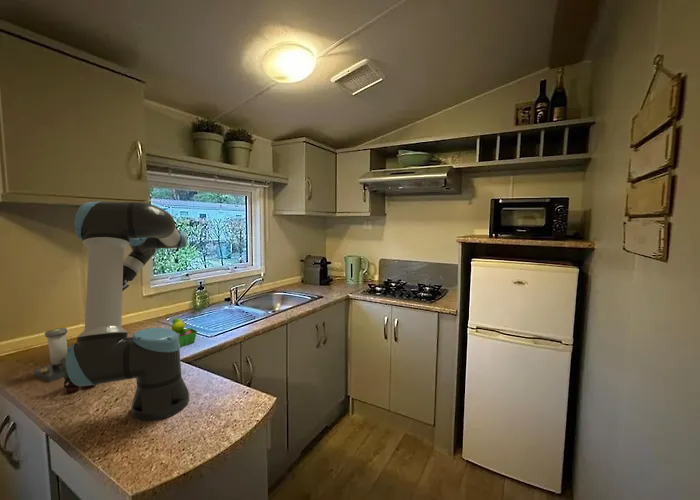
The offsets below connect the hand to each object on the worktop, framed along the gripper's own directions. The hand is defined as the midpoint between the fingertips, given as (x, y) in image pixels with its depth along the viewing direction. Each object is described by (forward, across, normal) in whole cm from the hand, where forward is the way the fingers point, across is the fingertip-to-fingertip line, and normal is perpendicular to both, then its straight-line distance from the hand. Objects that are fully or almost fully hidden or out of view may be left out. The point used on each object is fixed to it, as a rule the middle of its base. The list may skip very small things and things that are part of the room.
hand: (88, 317), depth 128 cm
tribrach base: (+20, 0, -5) cm, 20 cm away
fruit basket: (-6, -17, -31) cm, 36 cm away
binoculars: (+22, -20, -4) cm, 30 cm away
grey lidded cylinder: (+17, 0, -3) cm, 17 cm away
